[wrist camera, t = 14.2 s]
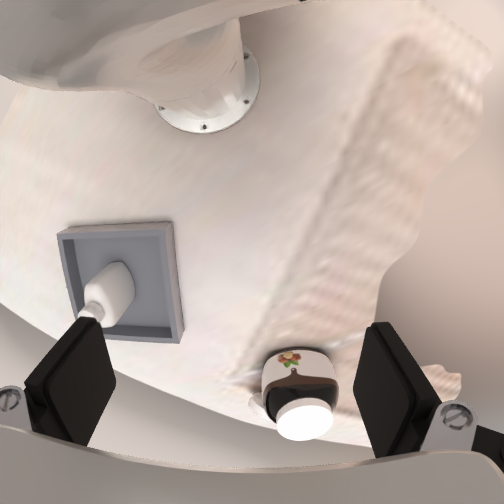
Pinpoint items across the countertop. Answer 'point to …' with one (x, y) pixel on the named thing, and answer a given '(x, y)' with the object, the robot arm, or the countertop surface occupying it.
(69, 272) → the dish
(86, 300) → the eye dropper bottle
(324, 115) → the countertop surface
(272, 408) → the spread jar
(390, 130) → the countertop surface
